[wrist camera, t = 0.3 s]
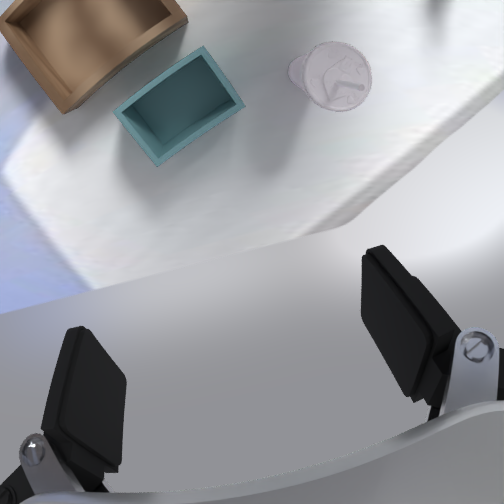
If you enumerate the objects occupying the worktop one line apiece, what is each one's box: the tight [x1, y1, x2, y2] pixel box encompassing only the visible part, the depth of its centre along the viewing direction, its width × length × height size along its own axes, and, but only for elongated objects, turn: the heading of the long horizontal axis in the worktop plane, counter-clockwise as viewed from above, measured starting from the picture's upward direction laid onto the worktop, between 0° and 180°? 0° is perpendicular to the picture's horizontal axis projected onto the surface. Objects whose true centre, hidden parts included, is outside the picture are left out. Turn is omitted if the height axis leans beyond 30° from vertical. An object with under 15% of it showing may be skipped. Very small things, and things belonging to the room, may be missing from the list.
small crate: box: [113, 46, 246, 167], centre depth 28 cm, size 10×7×6 cm
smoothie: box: [288, 42, 372, 112], centre depth 25 cm, size 6×6×14 cm
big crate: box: [0, 0, 188, 114], centre depth 21 cm, size 15×15×4 cm
